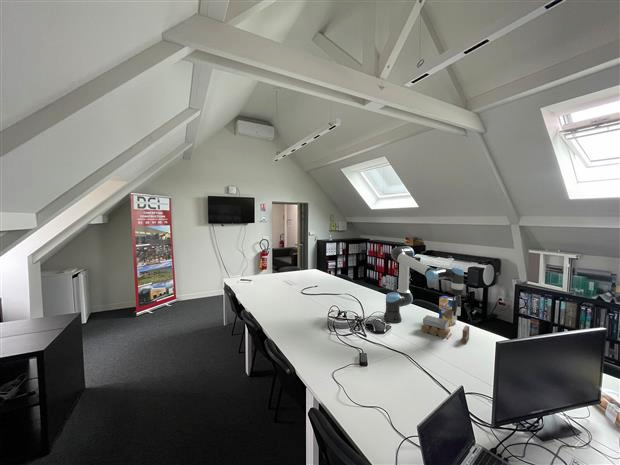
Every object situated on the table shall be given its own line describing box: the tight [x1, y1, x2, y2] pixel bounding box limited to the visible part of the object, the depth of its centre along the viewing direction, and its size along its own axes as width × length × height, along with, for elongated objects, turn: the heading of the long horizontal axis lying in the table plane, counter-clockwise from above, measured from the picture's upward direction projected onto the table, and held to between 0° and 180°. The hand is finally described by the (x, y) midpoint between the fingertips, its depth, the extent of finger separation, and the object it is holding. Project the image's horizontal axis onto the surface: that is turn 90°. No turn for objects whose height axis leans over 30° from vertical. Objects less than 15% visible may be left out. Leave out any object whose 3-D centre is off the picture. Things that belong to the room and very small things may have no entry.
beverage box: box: [438, 295, 457, 327], centre depth 213 cm, size 7×11×22 cm, turn 36°
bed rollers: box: [421, 324, 451, 339], centre depth 196 cm, size 11×18×6 cm, turn 48°
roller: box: [444, 307, 455, 319], centre depth 188 cm, size 11×6×6 cm
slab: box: [422, 315, 449, 330], centre depth 195 cm, size 16×10×4 cm, turn 48°
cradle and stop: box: [446, 325, 470, 345], centre depth 185 cm, size 12×10×10 cm
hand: (456, 317), depth 186 cm, fingers closed on roller, 11 cm apart
